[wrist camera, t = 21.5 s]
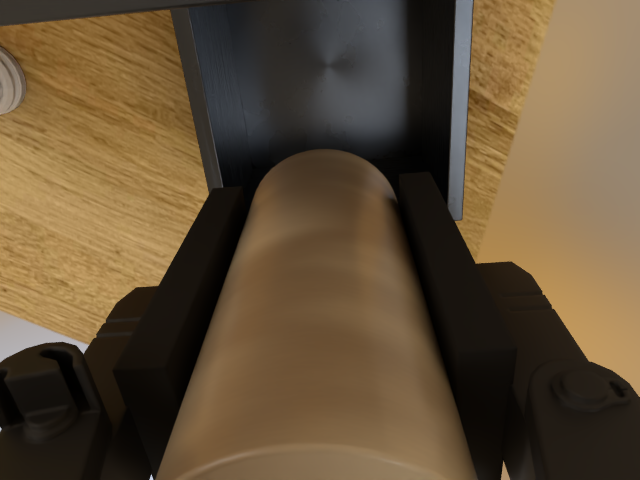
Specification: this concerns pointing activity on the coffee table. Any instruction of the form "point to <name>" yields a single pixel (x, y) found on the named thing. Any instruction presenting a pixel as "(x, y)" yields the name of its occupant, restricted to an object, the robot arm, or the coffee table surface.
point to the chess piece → (10, 83)
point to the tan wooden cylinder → (320, 344)
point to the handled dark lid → (88, 8)
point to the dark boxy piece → (329, 86)
